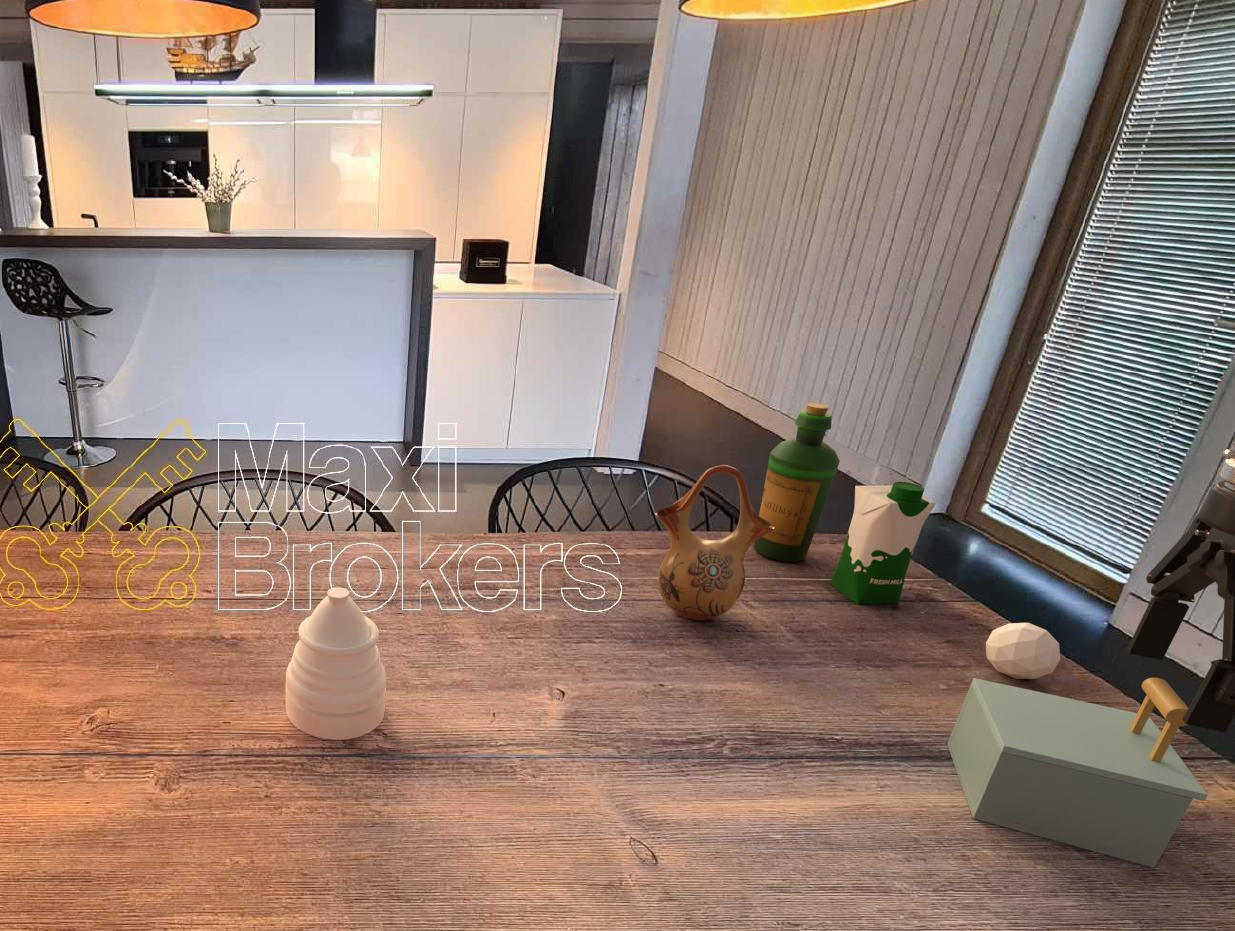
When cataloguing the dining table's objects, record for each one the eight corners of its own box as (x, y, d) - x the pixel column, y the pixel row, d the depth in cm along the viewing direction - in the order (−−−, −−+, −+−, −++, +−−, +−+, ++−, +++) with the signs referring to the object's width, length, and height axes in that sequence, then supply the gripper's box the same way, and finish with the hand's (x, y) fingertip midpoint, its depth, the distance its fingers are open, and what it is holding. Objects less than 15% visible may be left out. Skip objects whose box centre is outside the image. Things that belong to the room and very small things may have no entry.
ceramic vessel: (639, 620, 125) (669, 469, 116) (635, 594, 133) (662, 450, 124) (755, 637, 121) (796, 481, 111) (744, 609, 129) (781, 461, 119)
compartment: (1104, 783, 92) (1136, 719, 89) (1154, 868, 81) (1193, 799, 77) (946, 744, 98) (970, 683, 95) (972, 818, 87) (1001, 752, 84)
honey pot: (386, 742, 98) (394, 613, 91) (281, 737, 99) (281, 609, 91) (383, 681, 110) (389, 562, 103) (289, 677, 110) (289, 559, 103)
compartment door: (1145, 721, 88) (1174, 665, 86) (1204, 801, 77) (1239, 739, 74) (971, 683, 95) (992, 629, 92) (1001, 752, 84) (1026, 693, 81)
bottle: (734, 542, 152) (769, 398, 141) (787, 540, 154) (825, 397, 143) (770, 567, 143) (810, 414, 132) (826, 565, 144) (870, 413, 133)
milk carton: (856, 607, 130) (892, 492, 122) (820, 581, 138) (852, 471, 130) (908, 606, 130) (947, 491, 122) (869, 580, 138) (904, 471, 131)
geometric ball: (1011, 685, 115) (1059, 645, 113) (1036, 696, 107) (1088, 654, 105) (962, 647, 117) (1008, 607, 115) (983, 656, 110) (1033, 614, 108)
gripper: (1160, 447, 84) (1081, 622, 93) (1293, 533, 64) (1176, 749, 72) (1259, 458, 81) (1167, 639, 89) (1432, 552, 61) (1293, 776, 69)
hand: (1171, 688), depth 81 cm, fingers open, 13 cm apart
